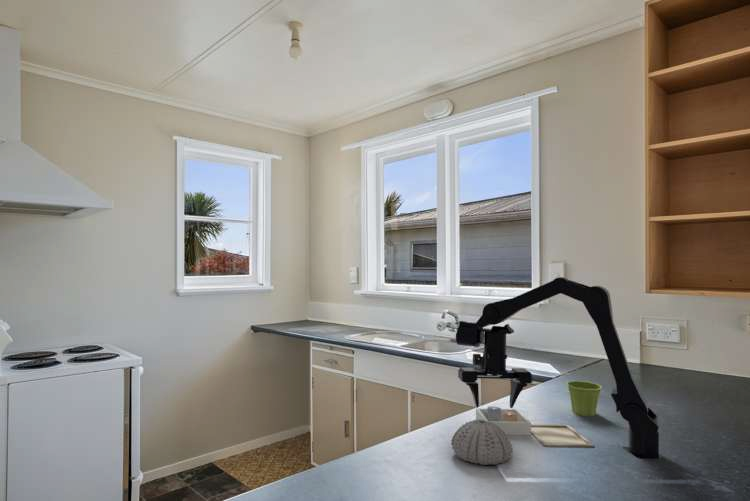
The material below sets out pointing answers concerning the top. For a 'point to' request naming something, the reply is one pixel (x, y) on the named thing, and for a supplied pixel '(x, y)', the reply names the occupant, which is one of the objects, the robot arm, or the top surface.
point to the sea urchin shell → (481, 443)
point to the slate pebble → (493, 413)
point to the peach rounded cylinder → (510, 416)
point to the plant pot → (584, 397)
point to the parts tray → (558, 436)
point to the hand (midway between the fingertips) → (494, 407)
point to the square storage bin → (508, 427)
